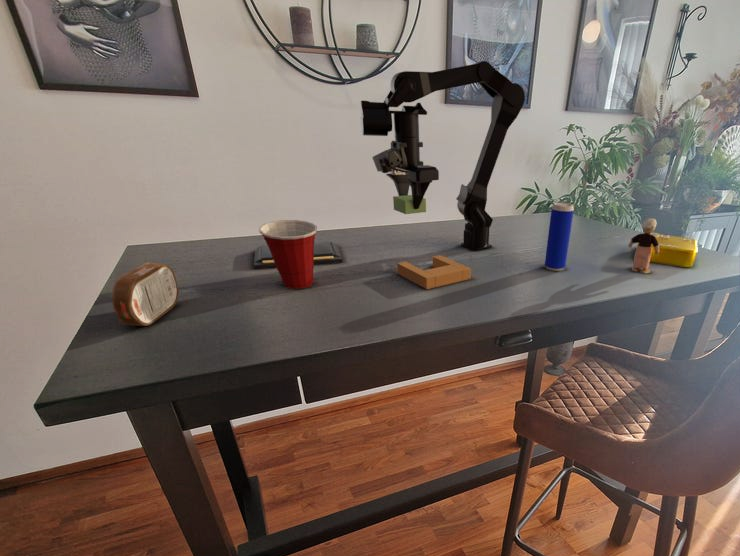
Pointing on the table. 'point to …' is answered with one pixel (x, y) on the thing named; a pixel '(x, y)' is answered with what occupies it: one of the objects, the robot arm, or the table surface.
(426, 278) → the wooden block
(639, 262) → the grandmother figurine
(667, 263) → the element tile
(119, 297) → the tin
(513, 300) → the table surface
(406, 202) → the green pad
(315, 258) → the wallet
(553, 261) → the beverage can
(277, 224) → the plastic cup
